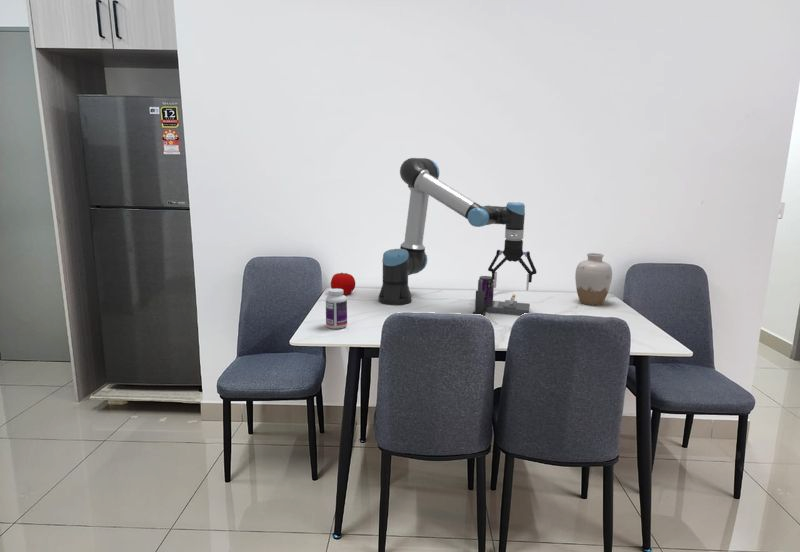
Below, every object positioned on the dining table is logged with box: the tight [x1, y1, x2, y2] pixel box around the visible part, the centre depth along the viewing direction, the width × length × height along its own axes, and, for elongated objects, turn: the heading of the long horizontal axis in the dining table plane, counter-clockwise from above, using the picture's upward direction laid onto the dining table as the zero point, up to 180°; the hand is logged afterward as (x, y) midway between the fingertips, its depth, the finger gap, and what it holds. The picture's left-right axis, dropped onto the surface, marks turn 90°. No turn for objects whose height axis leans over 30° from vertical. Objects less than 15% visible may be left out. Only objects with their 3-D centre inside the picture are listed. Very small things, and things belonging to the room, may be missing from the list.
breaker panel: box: [484, 299, 531, 316], centre depth 231 cm, size 22×12×4 cm, turn 74°
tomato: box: [330, 272, 356, 296], centre depth 257 cm, size 12×12×10 cm
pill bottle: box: [325, 288, 348, 330], centre depth 203 cm, size 8×8×14 cm
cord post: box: [472, 289, 486, 317], centre depth 223 cm, size 5×5×10 cm
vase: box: [574, 252, 613, 306], centre depth 245 cm, size 16×16×23 cm
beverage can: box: [477, 275, 495, 301], centre depth 243 cm, size 7×7×12 cm
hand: (511, 288), depth 229 cm, fingers open, 13 cm apart
